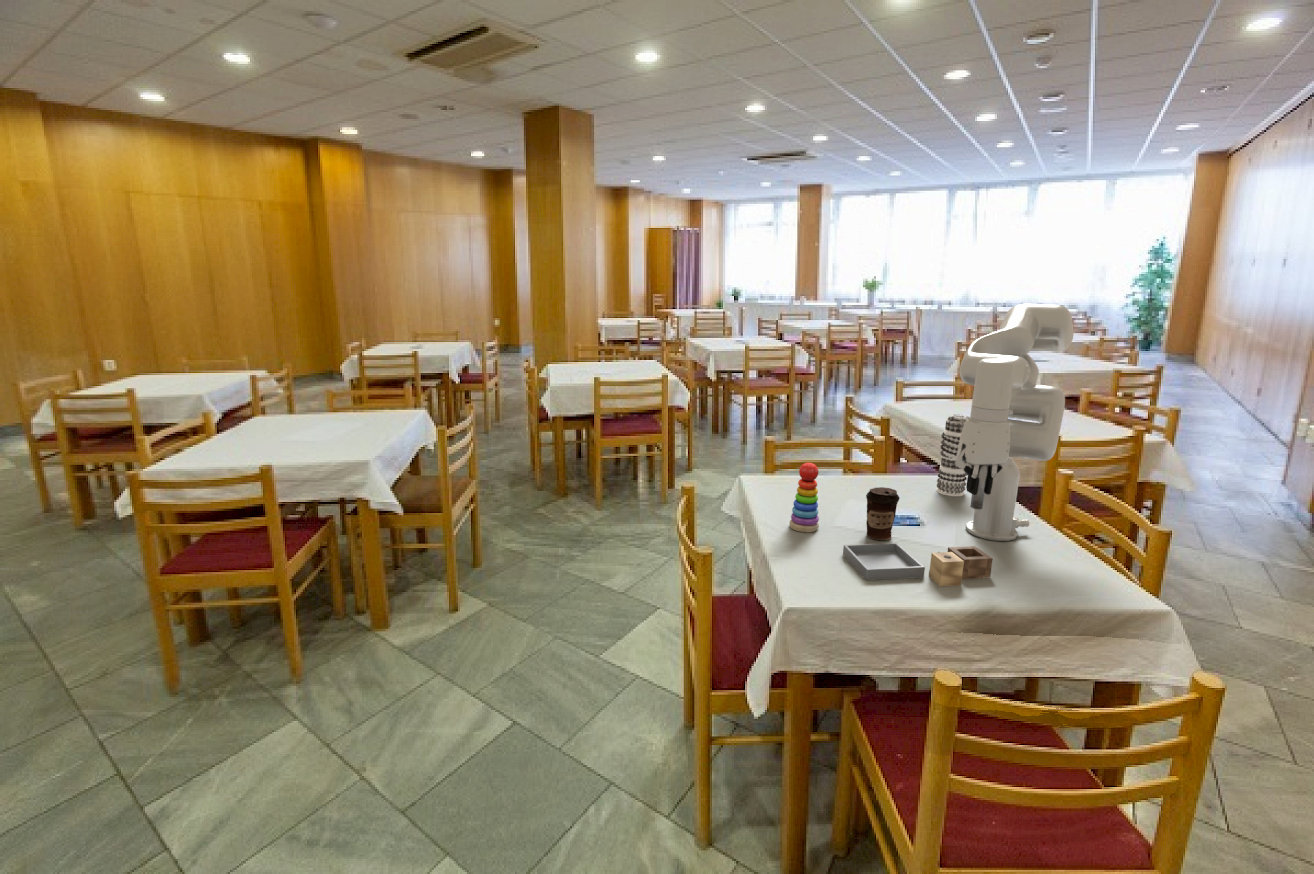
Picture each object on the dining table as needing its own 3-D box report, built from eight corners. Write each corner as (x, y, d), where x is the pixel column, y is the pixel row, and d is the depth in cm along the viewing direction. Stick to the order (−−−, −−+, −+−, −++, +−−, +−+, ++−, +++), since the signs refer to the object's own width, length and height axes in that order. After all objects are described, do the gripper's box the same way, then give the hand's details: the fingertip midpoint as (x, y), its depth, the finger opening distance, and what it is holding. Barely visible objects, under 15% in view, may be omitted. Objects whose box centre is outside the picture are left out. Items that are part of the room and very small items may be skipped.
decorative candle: (931, 492, 213) (940, 416, 207) (939, 485, 220) (948, 411, 214) (961, 498, 208) (971, 420, 201) (968, 491, 215) (978, 415, 208)
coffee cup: (897, 544, 173) (902, 497, 169) (864, 541, 174) (868, 494, 171) (892, 531, 181) (897, 486, 178) (861, 529, 183) (865, 484, 179)
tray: (896, 552, 168) (897, 542, 167) (923, 577, 155) (925, 567, 154) (842, 554, 166) (843, 544, 166) (866, 579, 153) (867, 569, 152)
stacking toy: (783, 528, 183) (787, 462, 178) (798, 520, 189) (802, 456, 184) (809, 535, 178) (814, 468, 173) (823, 527, 184) (828, 462, 179)
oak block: (948, 575, 156) (952, 551, 154) (960, 585, 151) (964, 561, 149) (928, 576, 155) (931, 552, 154) (939, 586, 150) (943, 561, 149)
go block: (972, 565, 162) (975, 546, 160) (989, 578, 155) (992, 558, 154) (945, 566, 161) (948, 547, 160) (961, 579, 154) (964, 559, 153)
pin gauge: (978, 505, 155) (985, 455, 152) (984, 509, 153) (992, 459, 150) (967, 505, 155) (974, 456, 152) (974, 509, 152) (981, 459, 149)
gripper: (1012, 410, 153) (1001, 486, 157) (945, 411, 151) (936, 488, 156) (1033, 417, 146) (1021, 497, 150) (964, 418, 144) (954, 499, 148)
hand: (978, 492), depth 153 cm, fingers closed on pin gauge, 2 cm apart
